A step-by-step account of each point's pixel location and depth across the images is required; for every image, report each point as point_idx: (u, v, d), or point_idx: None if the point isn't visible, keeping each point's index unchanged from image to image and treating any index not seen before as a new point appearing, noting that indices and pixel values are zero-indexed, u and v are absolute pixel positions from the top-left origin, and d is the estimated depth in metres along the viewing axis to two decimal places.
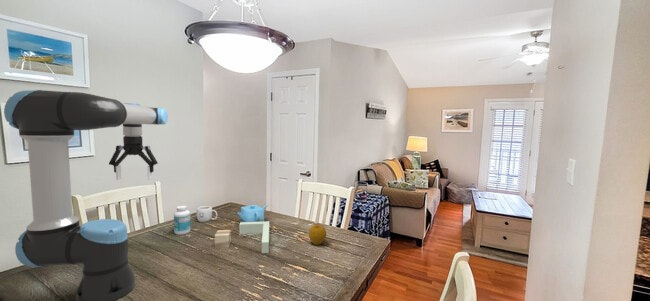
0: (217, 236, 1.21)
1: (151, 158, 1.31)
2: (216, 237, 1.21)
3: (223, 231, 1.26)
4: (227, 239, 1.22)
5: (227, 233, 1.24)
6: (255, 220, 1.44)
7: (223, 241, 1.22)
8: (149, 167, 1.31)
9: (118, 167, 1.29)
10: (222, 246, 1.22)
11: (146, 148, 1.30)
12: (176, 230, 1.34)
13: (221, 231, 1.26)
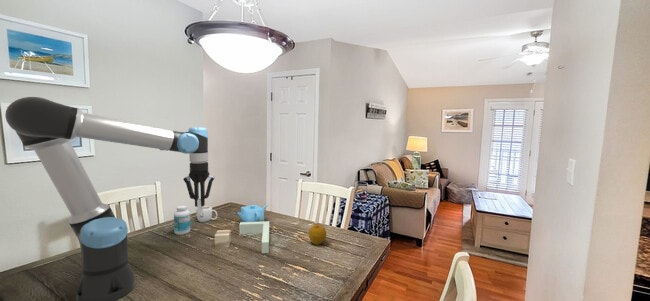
0: (217, 236, 1.21)
1: (207, 191, 1.20)
2: (216, 237, 1.21)
3: (223, 231, 1.26)
4: (227, 239, 1.22)
5: (227, 233, 1.24)
6: (255, 220, 1.44)
7: (223, 241, 1.22)
8: (201, 201, 1.20)
9: None
10: (222, 246, 1.22)
11: (211, 179, 1.20)
12: (176, 230, 1.34)
13: (221, 231, 1.26)
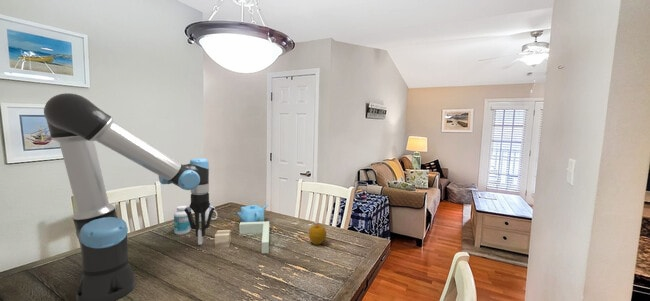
0: (217, 236, 1.21)
1: (208, 221, 1.21)
2: (216, 237, 1.21)
3: (223, 231, 1.26)
4: (227, 239, 1.22)
5: (227, 233, 1.24)
6: (255, 220, 1.44)
7: (223, 241, 1.22)
8: (201, 231, 1.22)
9: None
10: (222, 246, 1.22)
11: (212, 210, 1.21)
12: (176, 230, 1.34)
13: (221, 231, 1.26)
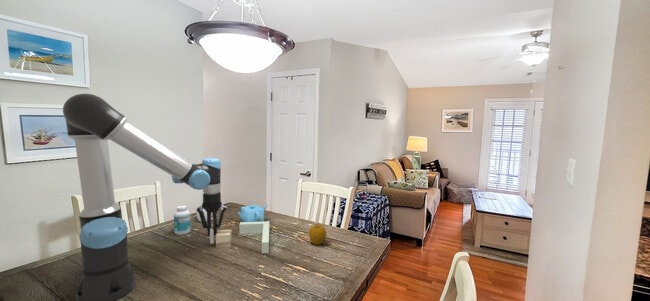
0: (219, 236, 1.21)
1: (220, 220, 1.23)
2: (217, 237, 1.21)
3: (224, 231, 1.26)
4: (228, 239, 1.22)
5: (228, 233, 1.24)
6: (255, 220, 1.44)
7: (224, 241, 1.22)
8: (213, 230, 1.23)
9: None
10: (223, 246, 1.22)
11: (223, 209, 1.22)
12: (176, 230, 1.34)
13: (222, 231, 1.26)
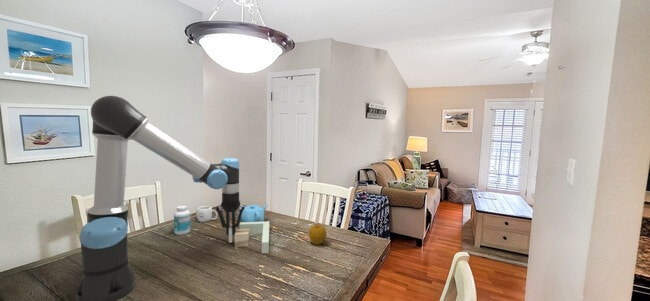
0: (237, 235, 1.23)
1: (238, 219, 1.24)
2: (236, 236, 1.23)
3: (242, 230, 1.28)
4: (247, 238, 1.24)
5: (246, 232, 1.25)
6: (255, 220, 1.44)
7: (243, 240, 1.24)
8: (232, 229, 1.24)
9: None
10: (242, 244, 1.24)
11: (242, 209, 1.24)
12: (176, 230, 1.34)
13: (240, 230, 1.27)
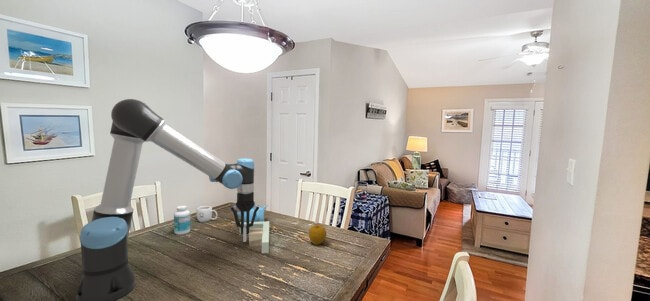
0: (252, 234, 1.24)
1: (253, 219, 1.25)
2: (250, 235, 1.24)
3: (256, 229, 1.29)
4: (261, 237, 1.25)
5: (260, 231, 1.27)
6: (255, 220, 1.44)
7: (257, 239, 1.25)
8: (246, 229, 1.25)
9: None
10: (256, 244, 1.25)
11: (256, 209, 1.25)
12: (176, 230, 1.34)
13: (254, 229, 1.29)
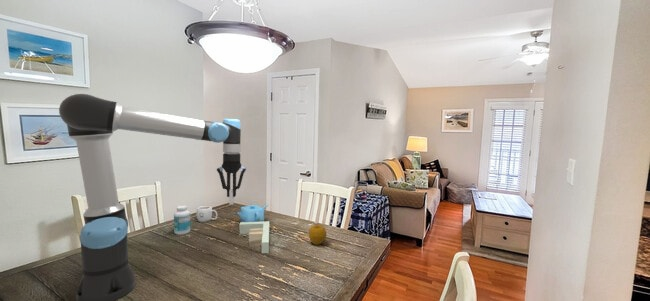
0: (252, 235, 1.24)
1: (239, 181, 1.22)
2: (250, 235, 1.24)
3: (256, 229, 1.29)
4: (261, 237, 1.25)
5: (260, 231, 1.27)
6: (255, 220, 1.44)
7: (257, 239, 1.25)
8: (233, 191, 1.22)
9: None
10: (256, 244, 1.25)
11: (243, 170, 1.22)
12: (176, 230, 1.34)
13: (254, 229, 1.29)
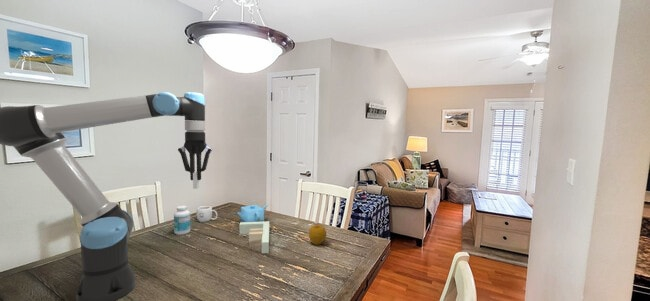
0: (252, 235, 1.24)
1: (204, 163, 1.10)
2: (250, 235, 1.24)
3: (256, 229, 1.29)
4: (261, 237, 1.25)
5: (260, 231, 1.27)
6: (255, 220, 1.44)
7: (257, 239, 1.25)
8: (197, 174, 1.10)
9: None
10: (256, 244, 1.25)
11: (208, 151, 1.10)
12: (176, 230, 1.34)
13: (254, 229, 1.29)
